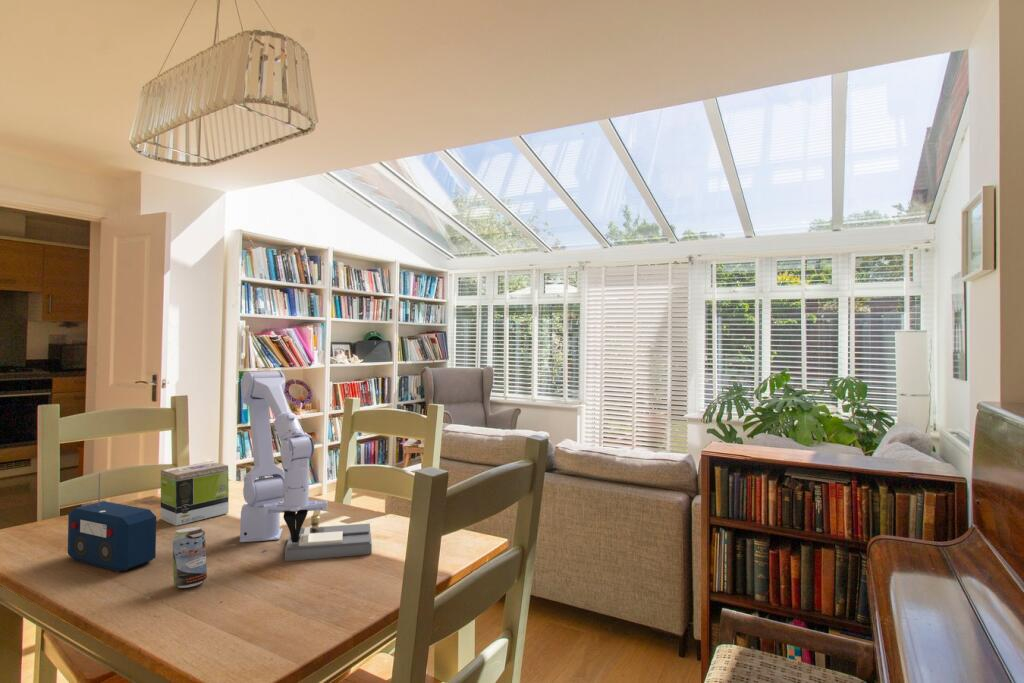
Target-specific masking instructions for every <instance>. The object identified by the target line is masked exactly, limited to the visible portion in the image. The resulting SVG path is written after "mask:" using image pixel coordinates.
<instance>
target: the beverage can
mask: <svg viewBox="0 0 1024 683" xmlns="http://www.w3.org/2000/svg"><path fill="white" fill-rule="evenodd" d="M206 545H207V544H206V532H205V531H204V529H203V526H190V527H185V528H181V529H177V530H175V534H174V535H173V536H172V560H173V562H172V563H173V568H172V569H173V585H174V586H176V587H177V588H180V589H187V588H191V587H196V586H198V585H201V584H202V583H203V582H204V581H205V580H206V579H207V576H208V575H207V573H208V572H207V551H206V550H207V547H206Z"/></svg>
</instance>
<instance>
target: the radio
mask: <svg viewBox="0 0 1024 683" xmlns="http://www.w3.org/2000/svg"><path fill="white" fill-rule="evenodd" d="M100 494H101V473H98V496H97V497H98V498H97V500H98V502H94V503H91V504H87V505H82V506H78V507H75V508H73V509H71V510H70V511H69V512H68V513H67V514H68V516H67V518H68V521H67V522H68V523H67V530H68V531H67V554H68V556H69V557H70V558H71V559H72V560H73V561H75V562H79V563H84V564H87V565H91V566H95V567H98V568H103V569H107V570H110V571H114V572H117V573H122V572H125V571H128V570H130V569H133V568H136V567H138V566H142V565H144V564H147V563H149V562H151V561H153V560H154V559H156V556H157V555H156V554H157V553H156V550H157V549H156V546H157V544H156V543H157V516H156V515H155V513H153V511H152V510H151V509H148V508H143V507H137V506H131V505H127V504H126V505H125V504H121V503H116V502H111V501H106V500H105V501H104V500H103V501H100V500H101V496H100Z"/></svg>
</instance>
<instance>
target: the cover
mask: <svg viewBox="0 0 1024 683" xmlns="http://www.w3.org/2000/svg"><path fill="white" fill-rule="evenodd" d="M304 528H305V530H304V534H301V537H300V541H299V546H310V545H323V544H337V543H342V538H343V531H338V532H324V533H310V528H311V527H304Z"/></svg>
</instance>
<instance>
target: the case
mask: <svg viewBox="0 0 1024 683" xmlns="http://www.w3.org/2000/svg"><path fill="white" fill-rule="evenodd" d="M370 524H371V523H359V524H343V525H330V526H329V525H328V526H318V531H312V526H311V527H310V533H324V532H338V531H343V538H342V543H337V544H323V545H310V546H299V541H300V537H301V534H304V530H305V528H306V527H301V530H300V534H299V540H298V542H296V543H292V539H291V534H290V533H289V537H288V540H287V542H286V546H285V549H284V562H290V561H291V562H292V561H302V560H303V561H305V560H315V559H316V560H318V559H326V558H327V559H328V558H339V557H351V556H365V555H372V554H373V553H372V551H373V550H372V549H373V548H372V547H373V546H372V544H373V543H372V533H371V525H370Z"/></svg>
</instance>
